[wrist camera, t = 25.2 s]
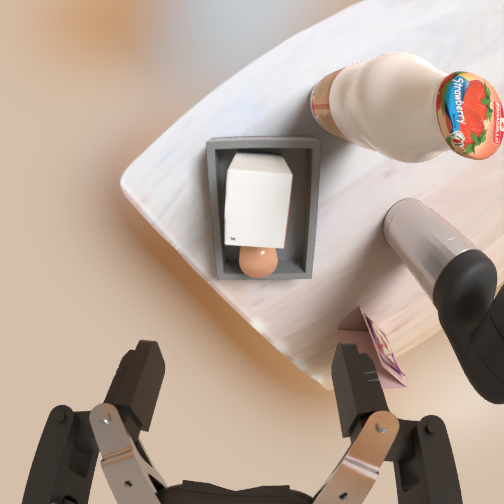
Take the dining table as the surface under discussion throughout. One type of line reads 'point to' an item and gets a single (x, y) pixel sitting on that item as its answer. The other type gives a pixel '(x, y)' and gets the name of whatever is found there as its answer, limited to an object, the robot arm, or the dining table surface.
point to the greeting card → (376, 352)
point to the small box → (257, 200)
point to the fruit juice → (409, 109)
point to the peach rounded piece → (257, 261)
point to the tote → (300, 211)
